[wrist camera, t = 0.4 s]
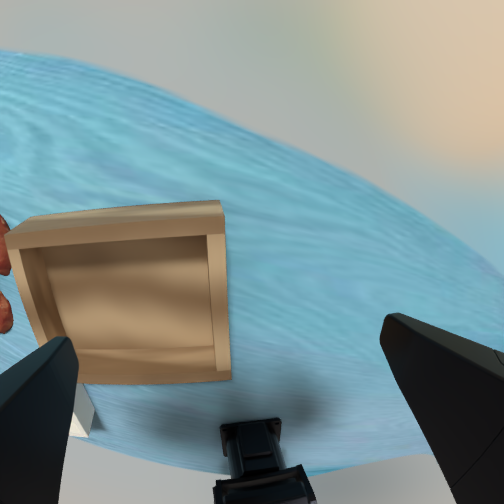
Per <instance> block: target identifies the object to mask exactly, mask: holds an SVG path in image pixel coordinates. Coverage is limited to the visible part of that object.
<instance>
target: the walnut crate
mask: <svg viewBox="0 0 504 504" xmlns="http://www.w3.org/2000/svg"><path fill="white" fill-rule="evenodd" d="M4 238H5V242H6V247H7V251H8V255H9V259H10V263H11V266H12V270H13V274H14V277H15V280H16V284H17V287H18V290H19V293H20V296H21V299H22V302H23V305H24V308H25V311H26V314H27V317H28V319H29V322H30V325H31V327H32V330H33V332H34V335H35V337H36V340H37V342H38V345H39V347H41V346H42V345H44V344H45V343H47V342H48V341H50V340H51V339H53V338H54V337H56V336H67V337H69V338H70V339H71V341H72V343H73V346H74V349H75V352H76V355H77V357H78V361H79V372H78V379H77V383H86V384H122V385H139V384H176V383H195V382H210V381H222V380H232V378H231V361H230V342H229V322H228V299H227V274H226V246H225V216H224V213H223V209H222V206H221V203H220V200H209V201H192V202H176V203H162V204H148V205H136V206H124V207H113V208H103V209H93V210H84V211H74V212H66V213H57V214H49V215H41V216H34V217H30V218H28V219H27V220H25V221H24V222H22V223H21V224H19V225H18V226H16V227H15V228H13V229H12V230H10V231H9V232H7V233H6V234H5V235H4Z"/></svg>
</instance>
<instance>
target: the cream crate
mask: <svg viewBox="0 0 504 504" xmlns="http://www.w3.org/2000/svg"><path fill="white" fill-rule="evenodd" d="M94 411H95V408H94V406H93V404H92V402H91V400H90V398H89V396H88V394H87V392H86V390H85V388H84V385H83V383H77V386H76V394H75V402H74V410H73V416H72V421H71V426H70V431H69V435H70V436H78V437H88V438H89V433H90V429H91V424H92V420H93V415H94Z"/></svg>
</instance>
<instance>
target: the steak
mask: <svg viewBox="0 0 504 504" xmlns="http://www.w3.org/2000/svg"><path fill="white" fill-rule="evenodd" d="M9 231H10V228H9V226H8V224H7V223H6V221H5V220H4V218H3V217H2V216H1V215H0V274H1V275H4V276H8V275H9V274H10V270H11V268H12V266H11V263H10V259H9V255H8V251H7V247H6V242H5V238H4V235H5V234H6V233H7V232H9ZM13 321H14V320H13V314H12V310H11V305H10V303H9V301H8V300H7V299H6V298H5V297H4V295H3V294H2V292H1V291H0V333H3V334H5V332H7V331H9V329H10V328H11V327H12V325H13Z"/></svg>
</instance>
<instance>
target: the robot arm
mask: <svg viewBox="0 0 504 504" xmlns="http://www.w3.org/2000/svg"><path fill="white" fill-rule="evenodd" d="M380 345H381V347H382V349H383V352H384V354H385V356H386V359H387V361H388V363H389V366H390V368H391V371H392V373H393V375H394V378H395V380H396V382H397V384H398V386H399V388H400V390H401V392H402V394H403V396H404V397H405V399H406V401H407V403H408V405H409V407H410V409H411V411H412V412H413V414H414V416H415V418H416V420H417V422H418V424H419V426H420V428H421V430H422V432H423V434H424V436H425V438H426V440H427V442H428V444H429V446H430V448H431V450H432V452H433V454H434V456H435V458H436V460H437V462H438V464H439V466H440V468H441V470H442V472H443V474H444V477H445V479H446V481H447V483H448V485H449V487H450V488H451V489H450V490H451V492H452V494H453V497H454V499H455V501H456V503H457V504H504V353H502V352H500V351H497V350H495V349H494V350H493V349H492V348H489V347H487V346H484V345H482V344H479V343H476V342H474V341H471V340H469V339H466V338H463V337H461V336H458V335H456V334H453V333H450V332H448V331H445V330H443V329H440V328H437V327H435V326H432V325H430V324H427V323H425V322H422V321H419V320H417V319H414V318H412V317H409V316H406V315H404V314H401V313H392V314H388V315H386V317H385V319H384V322H383V326H382V330H381V334H380ZM78 372H79V361H78V357H77V355H76V352H75V349H74V346H73V343H72V341H71V339H70V338H69V337H67V336H56V337H54V338H53V339H51V340H50V341H48V342H47V343H45V344H44V345H42V346H41V347H39V348H38V349H36V350H35V351H33V352H32V353H31V354H29V355H28V356H26V357H25V358H23V359H22V360H20V361H19V362H18V363H16V364H15V365H13V366H12V367H10V368H9V369H8V370H6V371H5V372H3V373H2V374H0V504H58V500H59V492H60V484H61V477H62V470H63V463H64V457H65V452H66V446H67V441H68V436H69V431H70V426H71V421H72V416H73V410H74V402H75V394H76V386H77V379H78ZM281 424H282V422H281V419H280V418H274V419H267V420H260V421H253V422H244V423H235V424H225V425H221V426H220V433H221V440H222V447H223V454H224V456H225V457H228V462H229V468H230V474H231V479H227V480H216V486H215V487H213V494H214V504H317V501H316V497H315V494H314V492H313V489H312V487H311V485H310V483H309V480H308V478H307V476H306V473H305V471H304V469H303V466H302V464H300V465H296V466H295V467H291V468H287V469H286V465H285V462H284V459H283V455H282V452H281V448H280V445H279V441H280V433H281Z"/></svg>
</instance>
